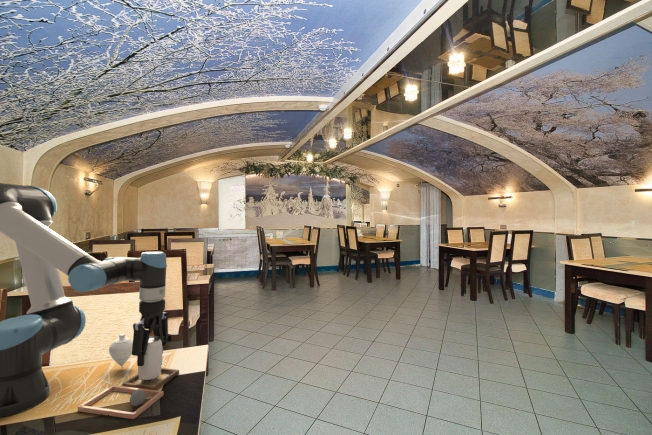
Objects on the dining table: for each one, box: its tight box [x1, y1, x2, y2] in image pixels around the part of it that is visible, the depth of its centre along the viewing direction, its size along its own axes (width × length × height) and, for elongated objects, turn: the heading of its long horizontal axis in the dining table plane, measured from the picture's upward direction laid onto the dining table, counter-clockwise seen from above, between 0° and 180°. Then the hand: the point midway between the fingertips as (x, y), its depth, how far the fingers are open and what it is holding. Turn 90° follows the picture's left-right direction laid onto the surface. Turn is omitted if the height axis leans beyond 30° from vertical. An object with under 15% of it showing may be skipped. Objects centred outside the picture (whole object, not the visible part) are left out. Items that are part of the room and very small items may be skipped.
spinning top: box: [108, 333, 133, 369], centre depth 113 cm, size 8×8×12 cm
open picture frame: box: [77, 384, 165, 420], centre depth 92 cm, size 18×12×1 cm, turn 80°
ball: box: [129, 390, 147, 407], centre depth 91 cm, size 4×4×4 cm
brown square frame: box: [121, 367, 180, 391], centre depth 105 cm, size 12×12×1 cm
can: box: [139, 335, 163, 381], centre depth 105 cm, size 6×6×12 cm
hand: (150, 369), depth 105 cm, fingers closed on can, 6 cm apart
